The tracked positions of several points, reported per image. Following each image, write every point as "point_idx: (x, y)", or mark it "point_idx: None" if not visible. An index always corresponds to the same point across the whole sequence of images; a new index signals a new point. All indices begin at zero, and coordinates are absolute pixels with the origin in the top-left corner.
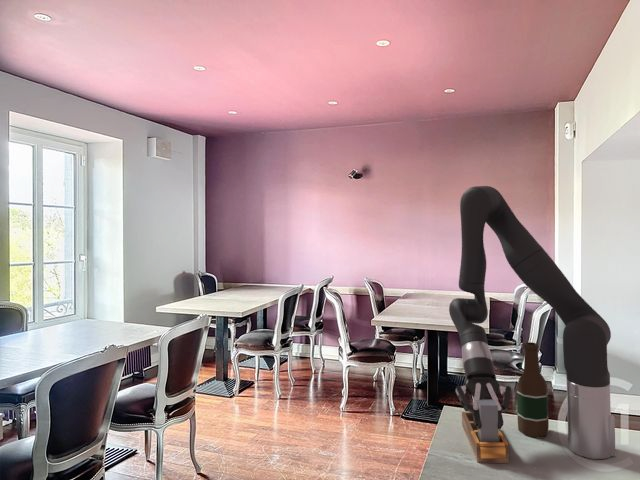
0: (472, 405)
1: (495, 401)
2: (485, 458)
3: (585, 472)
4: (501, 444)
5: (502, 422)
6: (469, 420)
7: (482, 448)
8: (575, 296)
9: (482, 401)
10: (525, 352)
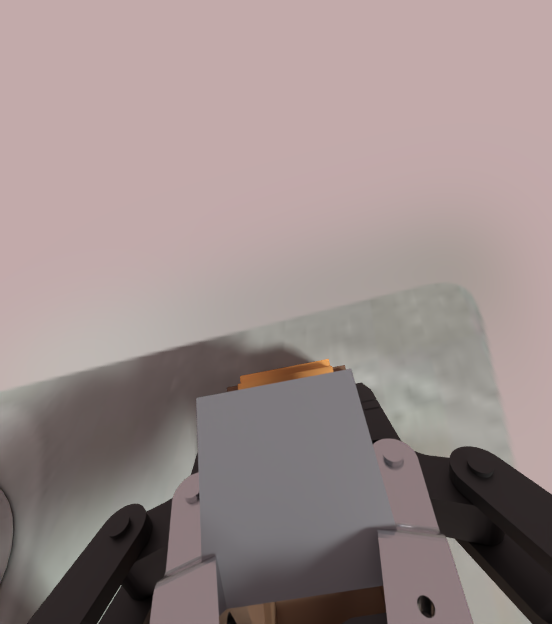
0: (431, 493)
1: (195, 561)
2: None
3: (53, 387)
4: (250, 382)
5: None
6: None
7: (322, 360)
8: None
9: (336, 489)
10: None
